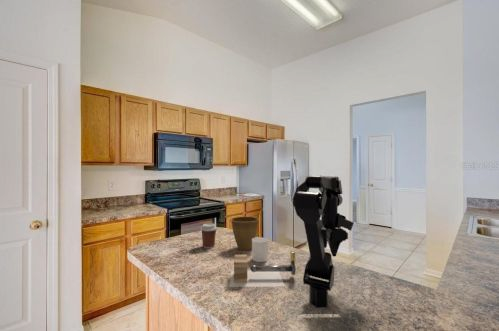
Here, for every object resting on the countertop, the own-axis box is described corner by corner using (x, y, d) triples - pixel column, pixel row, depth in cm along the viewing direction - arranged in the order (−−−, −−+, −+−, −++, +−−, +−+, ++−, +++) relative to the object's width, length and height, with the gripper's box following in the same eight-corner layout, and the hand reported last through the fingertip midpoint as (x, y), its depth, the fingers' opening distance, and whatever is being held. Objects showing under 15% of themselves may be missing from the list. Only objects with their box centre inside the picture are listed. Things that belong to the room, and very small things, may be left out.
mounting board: (284, 288, 85) (284, 286, 85) (229, 289, 84) (229, 286, 84) (278, 271, 99) (278, 269, 99) (231, 272, 98) (231, 270, 98)
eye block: (247, 282, 88) (247, 262, 88) (233, 282, 87) (234, 262, 88) (246, 273, 96) (247, 254, 96) (234, 273, 95) (234, 254, 96)
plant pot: (259, 244, 135) (259, 216, 135) (256, 253, 120) (256, 222, 120) (234, 243, 137) (234, 215, 137) (228, 252, 122) (228, 221, 123)
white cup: (248, 262, 109) (248, 240, 109) (256, 256, 116) (256, 236, 116) (264, 265, 105) (264, 243, 106) (270, 259, 112) (271, 238, 113)
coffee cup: (198, 245, 133) (198, 223, 133) (213, 243, 137) (213, 222, 137) (203, 250, 125) (203, 227, 125) (219, 247, 129) (219, 225, 129)
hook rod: (296, 277, 90) (296, 254, 90) (250, 277, 89) (250, 254, 89) (293, 271, 94) (293, 250, 95) (250, 272, 94) (250, 250, 94)
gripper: (363, 214, 79) (363, 261, 79) (340, 206, 98) (340, 243, 97) (330, 214, 79) (330, 261, 78) (313, 206, 97) (313, 243, 97)
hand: (329, 251), depth 88 cm, fingers open, 9 cm apart
